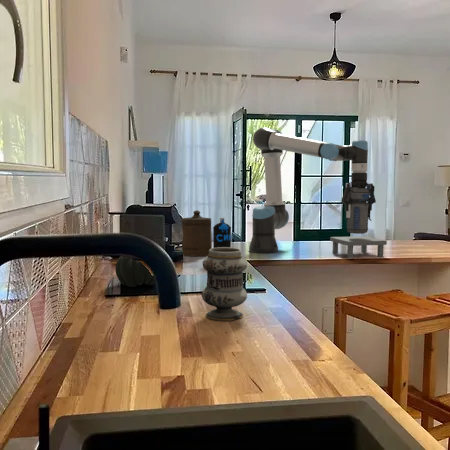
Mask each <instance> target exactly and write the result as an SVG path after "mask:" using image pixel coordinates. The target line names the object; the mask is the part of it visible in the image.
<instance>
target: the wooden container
mask: <svg viewBox="0 0 450 450" xmlns="http://www.w3.org/2000/svg"><path fill="white" fill-rule="evenodd" d="M181 222H182V224H181V247H182V248H181V252H182V251H183V255H182V256H185V257H208V254H209V250H210V249H211V248H213V247H212V246H213V239H212V238H213V237H212V236H213V235H212V218H210V217H202V216H201V211H200V210H194V211H193V214H192V216H191V217H183V218H181Z"/></svg>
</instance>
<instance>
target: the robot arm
mask: <svg viewBox="0 0 450 450" xmlns="http://www.w3.org/2000/svg"><path fill="white" fill-rule="evenodd" d="M252 141H253V142H252V143H253V144H254V146H255V147H256V148H257V149H259V150H260V155H261V156H262V157H263V159H264V161H263V162H264V179H265V197H266V198H265V199H266V201H265V203H264V204H263V205H261V206H256V207H254V208H253V209H252V214H251V215H252V235H251V236H252V237H251V240H250V243H249V246H248V252H251V253H258V254H260V253H261V254H270V253H277V252H279V246H278V243H277V239H276V237H275V236H276V233H275V232H276V230H280V229H283V228H284V227H285V226H287V224H288V222H289V219H290V215H289V212H288V210H287V209H286V203H285V202H283V191H282V189H283V187H282V167H281V156H282V155H283V154H284V151H286V152H291V153H297V154H300V155H306V156H311V157H317V158H321V159H325V160H329V161H330V162H331V161H332V162H339V161H340V162H344V161H351V170H350V171H351V173H350V174H351V175H350V179H351V181H350V182H351V183H349V182H346V183H345V184H344V192H343V195H342V198H341V200H340V201H341V204H344V211H345V212H346V213H345V214H346V215H345V216H346V219H347V218H350V207H351V205H350V204H349V203H350V201H351V196H348V193H349V189H350V187H358V188H367V186H364V185H366V184H372V185H373V186H374V184H373V183H371V182H369V183H368V182H367V180H368V157H369V156H368V155H369V154H368V153H369V145H368V144H369V143H368V141H367V140H361V139H360V140H358V139H357V140H353V141H352V142H351V144H349V145H341V144H340V145H339V144H335V143H333V142H332V143H331V142H325V141H324V142H323V141H319V140H314V139H309V138H303V137H297V136H293V135H287V134H283V133H282V132H281V130H278V129H275V128H274V129H273V128H269V127H260V128H258V129H256V131H255V132H254V134H253V136H252ZM369 194H370V196H369V199H368V201H367V203H369V204H370V199H371V194H372V190H371V191H370V192H369ZM376 202H377V201H376V197H375V194H374V195H373V199H372V204H371V211H372V210H373V205H374V204H376ZM368 214H369V208H368Z"/></svg>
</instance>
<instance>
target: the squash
mask: <svg viewBox="0 0 450 450" xmlns="http://www.w3.org/2000/svg"><path fill="white" fill-rule="evenodd" d="M114 269H115V275H116V277H117V279H118V281H119V282H120V284H122V285H123V286H124V287H125V286H126V287H131V288H135V287H138V285H139V286H141V285H145V286H152V285H154V284H155V283H154V279H153V277H152V275H151V273H150V272H149V270H148V269H147V268H146V267H145V266H144V265H143V264H142V263H141V262H139V261H137V260H134V259H132V258H128V257H123V256H121V255H120V256H119V257H118V258H117V261H116V263H115V268H114Z"/></svg>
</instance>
